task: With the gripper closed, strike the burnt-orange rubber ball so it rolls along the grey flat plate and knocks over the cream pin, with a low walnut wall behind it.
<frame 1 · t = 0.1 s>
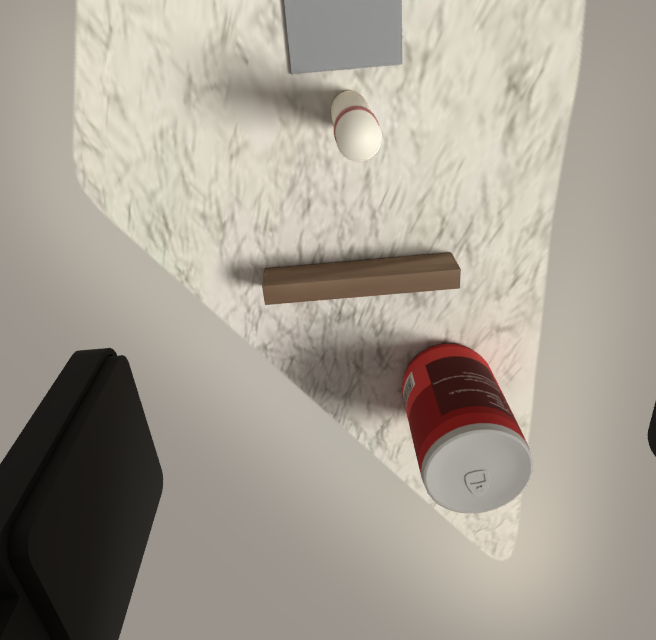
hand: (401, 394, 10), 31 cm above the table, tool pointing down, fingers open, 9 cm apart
back wall: (358, 269, 43), on the table
pin: (349, 110, 37), on the table
canned food: (444, 378, 48), on the table
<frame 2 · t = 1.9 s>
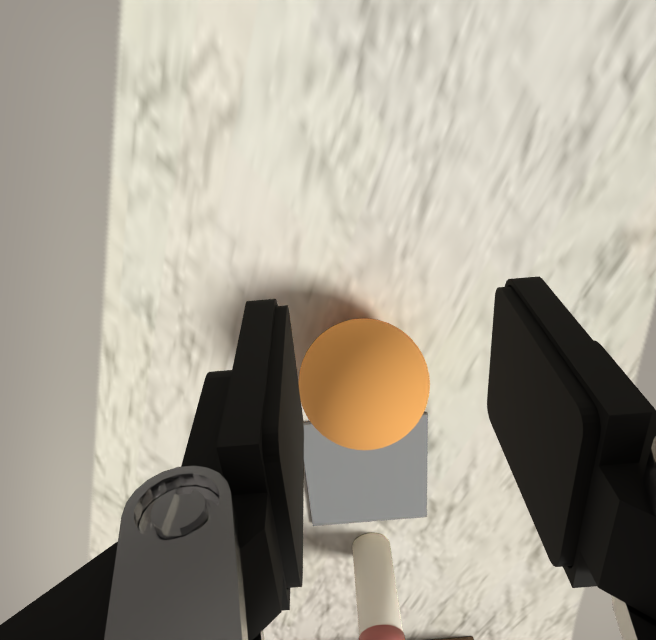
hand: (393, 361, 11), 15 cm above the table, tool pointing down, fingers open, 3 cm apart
pin: (371, 545, 36), on the table
ball: (363, 383, 26), on the table
grey flat plate: (366, 471, 33), on the table
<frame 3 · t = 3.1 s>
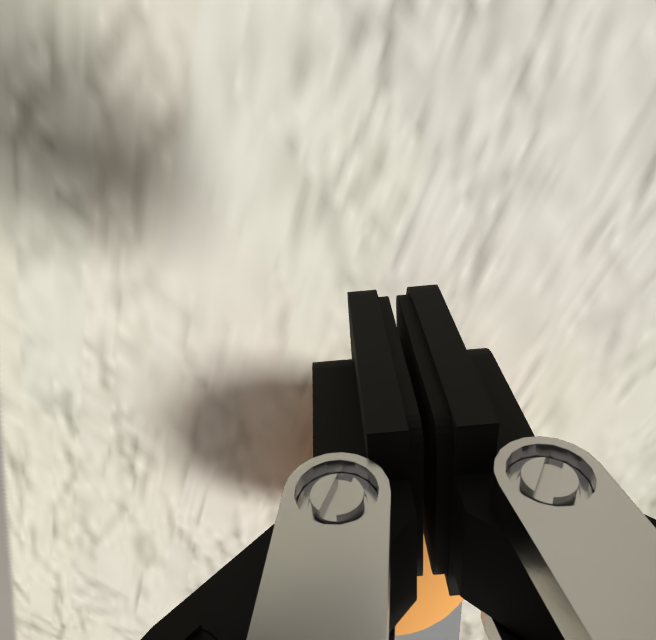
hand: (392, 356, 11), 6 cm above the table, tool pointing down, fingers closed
ball: (384, 525, 18), on the table
grey flat plate: (381, 594, 25), on the table
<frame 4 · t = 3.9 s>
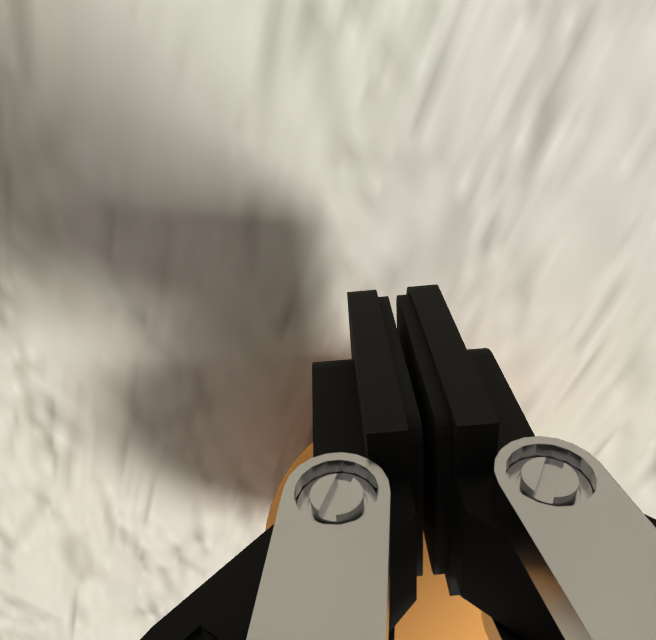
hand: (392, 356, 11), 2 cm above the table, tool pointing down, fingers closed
ball: (400, 547, 13), on the table, touching gripper
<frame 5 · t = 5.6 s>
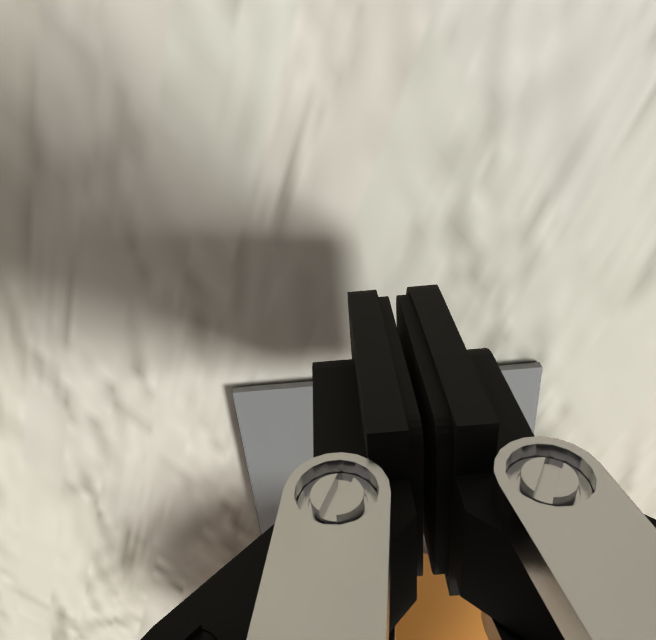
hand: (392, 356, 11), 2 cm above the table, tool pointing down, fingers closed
grey flat plate: (390, 498, 15), on the table
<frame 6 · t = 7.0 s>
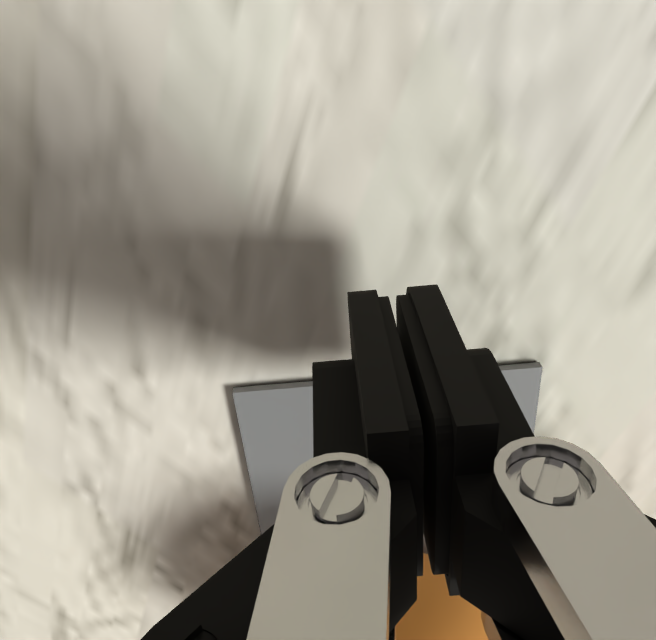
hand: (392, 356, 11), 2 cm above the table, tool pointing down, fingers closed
grey flat plate: (390, 498, 15), on the table
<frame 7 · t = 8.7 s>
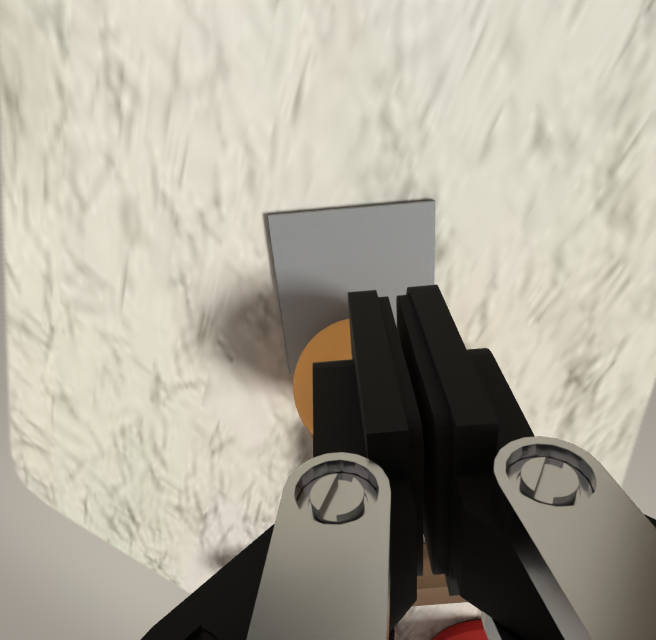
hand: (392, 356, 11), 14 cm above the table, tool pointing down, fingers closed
back wall: (372, 555, 35), on the table
ball: (362, 386, 25), on the table
grey flat plate: (356, 292, 26), on the table
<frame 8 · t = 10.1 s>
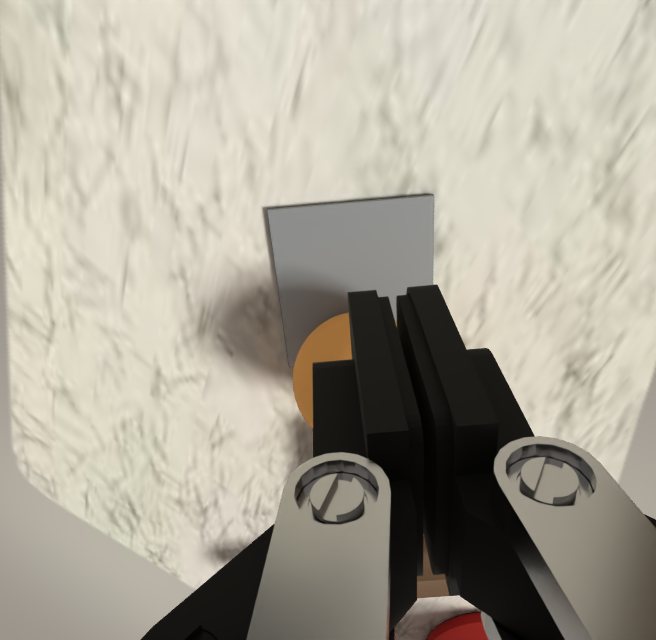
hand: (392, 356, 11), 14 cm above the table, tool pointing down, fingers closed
back wall: (371, 548, 35), on the table
ball: (361, 379, 25), on the table
grey flat plate: (355, 286, 26), on the table
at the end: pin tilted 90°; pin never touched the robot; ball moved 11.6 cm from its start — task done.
